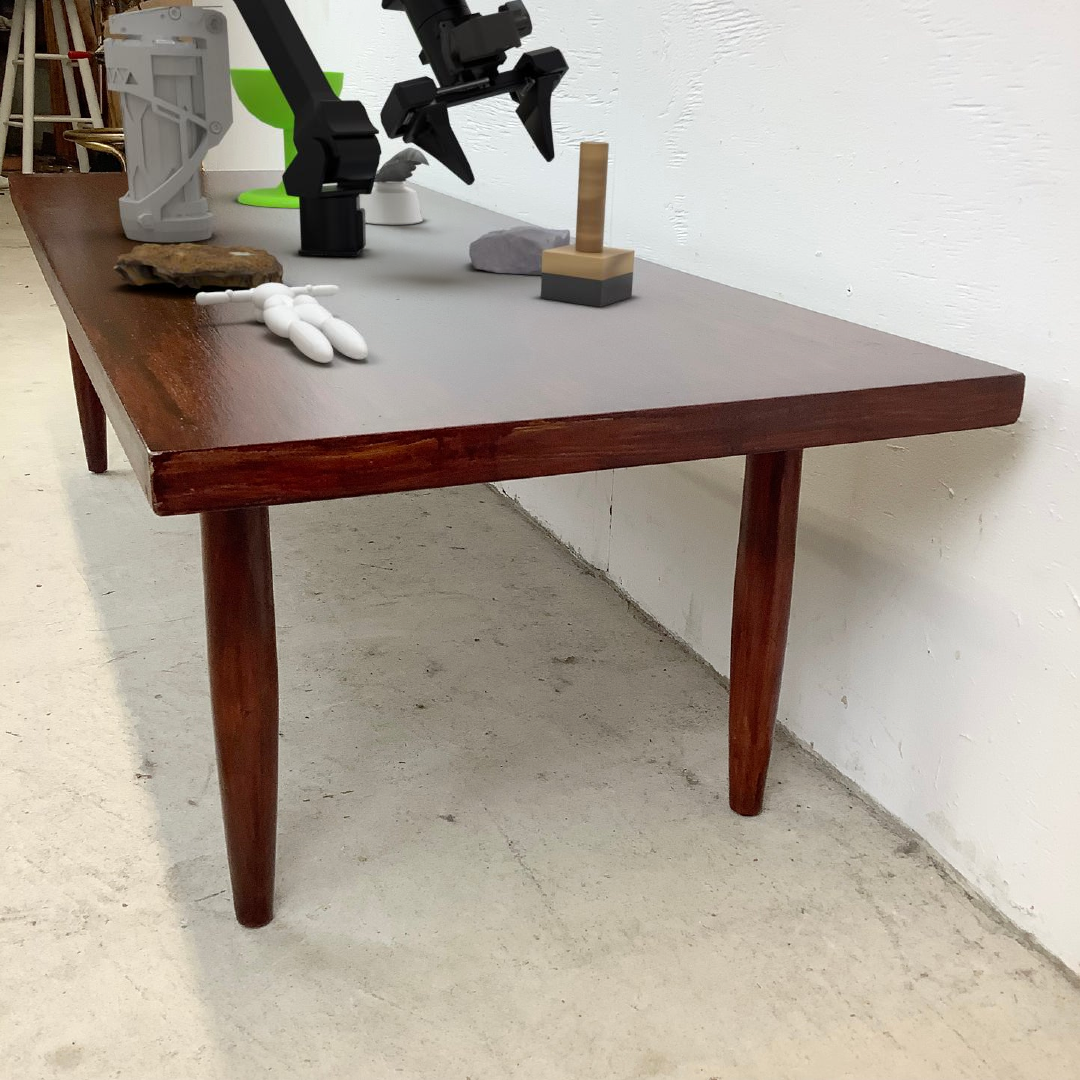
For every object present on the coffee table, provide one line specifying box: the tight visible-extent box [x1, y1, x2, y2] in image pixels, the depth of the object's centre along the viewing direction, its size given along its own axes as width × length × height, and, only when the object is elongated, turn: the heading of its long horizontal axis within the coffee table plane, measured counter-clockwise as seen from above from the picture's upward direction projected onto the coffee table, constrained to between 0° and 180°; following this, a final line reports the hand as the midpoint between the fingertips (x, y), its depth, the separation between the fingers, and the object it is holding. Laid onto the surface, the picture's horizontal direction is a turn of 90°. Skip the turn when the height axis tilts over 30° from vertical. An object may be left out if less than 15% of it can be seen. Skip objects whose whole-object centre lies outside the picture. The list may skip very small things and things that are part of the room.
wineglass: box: [230, 68, 345, 209], centre depth 169 cm, size 16×16×18 cm
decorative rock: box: [113, 242, 284, 290], centre depth 107 cm, size 11×4×15 cm
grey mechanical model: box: [103, 5, 234, 243], centre depth 132 cm, size 13×10×25 cm
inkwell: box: [360, 147, 430, 226], centre depth 151 cm, size 9×18×10 cm, turn 32°
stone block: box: [468, 225, 571, 276], centre depth 126 cm, size 12×5×10 cm
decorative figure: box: [195, 283, 369, 364], centre depth 90 cm, size 4×12×18 cm
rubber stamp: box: [540, 141, 635, 308], centre depth 107 cm, size 6×6×14 cm
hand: (512, 171), depth 111 cm, fingers open, 9 cm apart
